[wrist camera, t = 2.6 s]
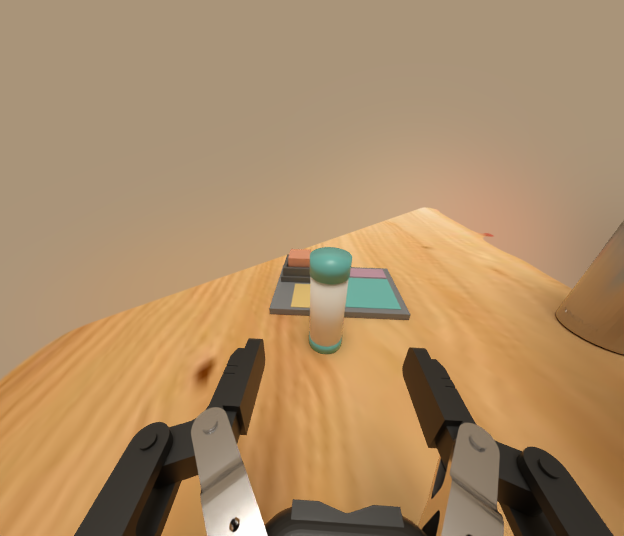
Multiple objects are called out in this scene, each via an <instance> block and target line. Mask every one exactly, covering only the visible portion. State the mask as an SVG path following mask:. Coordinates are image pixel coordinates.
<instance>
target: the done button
mask: <svg viewBox="0 0 624 536" xmlns="http://www.w3.org/2000/svg"><path fill="white" fill-rule="evenodd" d="M310 253H311V250H303V249H291V250H290V254H289V257H288V266H289V267H310Z"/></svg>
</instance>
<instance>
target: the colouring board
mask: <svg viewBox="0 0 624 536" xmlns="http://www.w3.org/2000/svg"><path fill="white" fill-rule="evenodd" d="M288 257H289V254H287V257H286V261H285V264H284V265H283V268H282V271H281V275H280V278H279V281H278V284H277V287H276V290H275V293H274V296H273V299H272V302H271V305H270V308H269V309H270V314H285V315H308V316H310V267H289V266H288ZM344 317H353V318H376V319H399V320H409V318H410V313H409V311H408V309H407V307H406V305H405V303H404V301H403V299H402V297H401V295H400V293H399V291H398V289H397V287H396V285H395V283H394V281H393V279H392V277H391V276H390V274H389V272H388V270H387V269H380V268H354V267H351V271H350V277H349V279H348V288H347V296H346V305H345V313H344Z"/></svg>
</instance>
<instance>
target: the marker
mask: <svg viewBox="0 0 624 536" xmlns="http://www.w3.org/2000/svg"><path fill="white" fill-rule="evenodd" d="M351 263H352V256H351V254H350V253H349V252H347V251H345V250H343V249H339V248H333V247H324V248H319V249H316V250H314V251H312V252H311V253H310V331H309V344H310V346H311V347H312V349H313V350H315V351H316V352H318V353H321V354H331V353H334V352H336V351H337V350H338V349H339V348H340V346H341V342H342V330H343V321H344V313H345V305H346V296H347V288H348V279H349V277H350V271H351Z"/></svg>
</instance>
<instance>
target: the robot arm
mask: <svg viewBox="0 0 624 536" xmlns="http://www.w3.org/2000/svg"><path fill="white" fill-rule="evenodd" d="M556 317H557V319H558V320H559V321H560V322H561V323H562V324H563V325H564V326H565V327H566V328H568V329H569V330H571V331H572V332H573V333H575V334H577V335H578V336H580V337H582V338H584V339H585V340H588V341H590V342H592V343H594V344H596V345H598V346H601V347H603V348H605V349H608V350H611V351H614V352H617V353H620V354H624V221H623V222H622V223H621V225H620V226H619V227H618V229H617V230H616V232H615V233H614V234H613V236H612V237H611V238H610V240H609V241H608V242H607V244H606V245H605V246H604V248H603V249H602V251H601V252H600V253H599V255H598V256H597V257H596V259H595V260H594V261H593V263H592V264H591V265H590V267H589V268H588V269H587V271H586V272H585V273H584V275H583V276H582V277H581V279H580V280H579V281H578V283H577V284H576V286H575V287H574V288H573V290H572V291H571V292H570V294H569V295H568V296H567V298H566V299H565V300H564V302H563V303H562V305H561V306H560V307H559V309H558V310H557V311H556ZM264 366H265V352H264V343H263V339H251V338H249V339H248V341H247V344H246V346H245V348H238V349H237V350H236V351H235V352H234V353H233V354H232V355H231V356H230V359H229V361H228V363H227V367H226V368H225V370H224V372H223V375H222V377H221V379H220V381H219V384H218V386H217V388H216V390H215V393H214V395H213V397H212V400H211V402H210V404H209V406H208V407H207V409H206V410H205V411H204V412H202V413H201V414H200V415H199V416H198V417H197V418H196V419H194V420H192V421H189V422H186V423H183V424H179V425H176V426H172V427H168V426H167V425H166V424H165V423H162V422H156V423H152V424H150V425H148V426H146V427H144V428H143V429H141V430H140V431H139V432H138V433H137V434H136V435H135V436H134V437H133V439H132V440H131V442H130V443H129V445H128V447H127V448H126V450H125V452H124V453H123V455H122V457H121V458H120V460H119V462H118V463H117V465H116V467H115V468H114V470H113V472H112V473H111V475H110V477H109V478H108V480H107V482H106V483H105V485H104V487H103V488H102V490H101V492H100V493H99V495H98V497H97V498H96V500H95V502H94V503H93V505H92V507H91V508H90V510H89V512H88V513H87V515H86V517H85V518H84V520H83V522H82V523H81V525H80V527H79V528H78V530H77V532H76V533H75V535H74V536H161V534H162V531H163V529H164V526H165V523H166V521H167V518H168V515H169V513H170V510H171V507H172V505H173V502H174V499H175V497H176V494H177V492H178V489H179V486H180V484H181V481H182V480H185V479H188V478H190V477H193V476H196V475H199V479H200V485H201V504H202V510H203V515H204V521H205V526H206V532H207V536H504V522H503V517H502V515H501V514H500V513H499V512H498V510H497V501H498V502H499V503H500V505H501V508H502V510H503V512H504V514H505V516H506V519H507V521H508V523H509V525H510V527H511V530H512V532H513V534H514V536H613V534H612V533H611V531H610V530H609V529H608V527H607V526H606V524H605V523H604V522H603V520H602V519H601V517H600V516H599V515H598V513H597V512H596V510H595V509H594V507H593V506H592V505H591V503H590V502H589V500H588V499H587V498H586V496H585V495H584V493H583V492H582V491H581V489H580V488H579V486H578V485H577V484H576V482H575V481H574V479H573V478H572V477H571V475H570V474H569V472H568V471H567V470H566V468H565V467H564V466H563V465H562V464H561V463H560V462H559V461H558V460H557V459H556V458H554V457H553V456H552V455H550V454H549V453H547V452H546V451H544V450H542V449H539V448H536V447H527V448H526V449H525V450H524V451H520V450H517V449H515V448H512V447H509V446H507V445H504V444H502V443H499V442H497V441H495V440H494V439H493V438H492V437H491V435H490V434H489V433H488V432H486V431H485V430H484V429H483V428H481V427H479V426H478V425H476V423H475V422H474V420H473V418H472V416H471V415H470V413H469V411H468V409H467V407H466V406H465V404H464V402H463V400H462V398H461V397H460V395H459V393H458V391H457V389H455V386H454V384H453V382H452V380H450V377H449V375H448V373H447V371H446V369H445V368H444V367H443V366H442V365H441V364H440V363H439V362H438V361H437V360H436V359H431V358H430V356H429V354H428V352H427V350H426V349H425V348H409V350H408V352H407V355H406V358H405V361H404V364H403V377H404V380H405V383H406V386H407V389H408V391H409V394H410V397H411V400H412V403H413V406H414V408H415V411H416V414H417V417H418V420H419V423H420V426H421V428H422V431H423V434H424V437H425V440H426V443H427V445H428V448H437V449H438V452H439V454H440V457H439V459H438V463H437V467H436V470H435V474H434V478H433V482H432V486H431V490H430V494H429V498H428V501H427V504H426V506H425V509H424V511H423V513H422V516H421V519H420V523H419V526H417V525H415V524H414V523H413V522H412V521H410V520H408V519H407V518H405V517H403V516H402V514H401V509H400V507H393V506H379V505H372V506H369V507H366V508H363V509H360V510H357V511H354V512H351V513H344V512H342V511H339V510H337V509H335V508H333V507H330V506H328V505H326V504H324V503H322V502H319V501H308V500H294V499H293V502H292V507H290V508H287V509H285V510H283V511H281V512H279V513H278V514H277V515H275V516H274V517H273V518H272V519H271V520H270V521H269V522H268V523H267V524H266V525H265V526H264V524H263V521H262V518H261V515H260V512H259V509H258V506H257V503H256V500H255V497H254V494H253V491H252V488H251V485H250V482H249V479H248V476H247V473H246V470H245V467H244V464H243V461H242V459H241V456H240V453H239V450H238V447H237V443H238V439H239V436H240V435H247V431H248V427H249V423H250V420H251V416H252V412H253V408H254V405H255V401H256V397H257V393H258V389H259V386H260V382H261V378H262V374H263V371H264Z"/></svg>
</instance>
